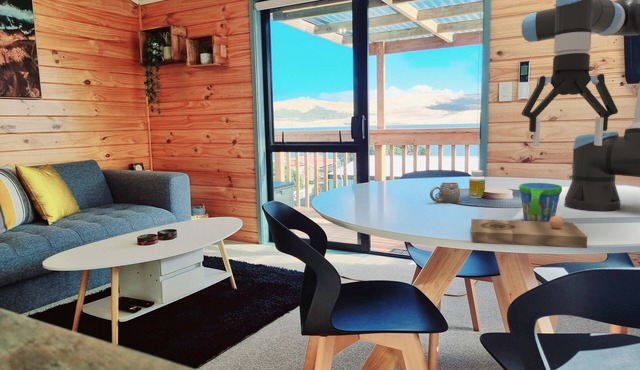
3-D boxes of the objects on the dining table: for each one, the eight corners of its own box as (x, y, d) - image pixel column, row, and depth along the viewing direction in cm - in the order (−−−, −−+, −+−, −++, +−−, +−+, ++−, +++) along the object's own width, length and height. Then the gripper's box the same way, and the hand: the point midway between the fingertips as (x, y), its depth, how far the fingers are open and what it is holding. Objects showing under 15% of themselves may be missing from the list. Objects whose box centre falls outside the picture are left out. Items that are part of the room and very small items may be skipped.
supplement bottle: (478, 199, 163) (479, 172, 161) (465, 197, 167) (466, 170, 165) (487, 197, 166) (488, 170, 164) (474, 195, 170) (475, 169, 169)
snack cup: (552, 230, 118) (553, 190, 116) (509, 224, 124) (510, 187, 123) (566, 218, 129) (568, 183, 128) (527, 214, 136) (528, 180, 135)
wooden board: (572, 232, 115) (572, 222, 114) (586, 247, 102) (587, 236, 101) (471, 228, 122) (471, 218, 121) (472, 242, 108) (472, 231, 108)
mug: (451, 199, 164) (451, 181, 164) (464, 202, 158) (464, 183, 157) (423, 202, 160) (423, 183, 159) (435, 205, 153) (435, 186, 152)
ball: (561, 227, 110) (562, 214, 110) (564, 230, 107) (564, 217, 107) (547, 226, 111) (548, 214, 111) (550, 229, 108) (550, 217, 108)
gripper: (624, 53, 108) (617, 144, 111) (511, 58, 113) (507, 145, 116) (639, 48, 100) (631, 146, 103) (517, 54, 106) (514, 146, 108)
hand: (566, 145), depth 110 cm, fingers open, 13 cm apart
